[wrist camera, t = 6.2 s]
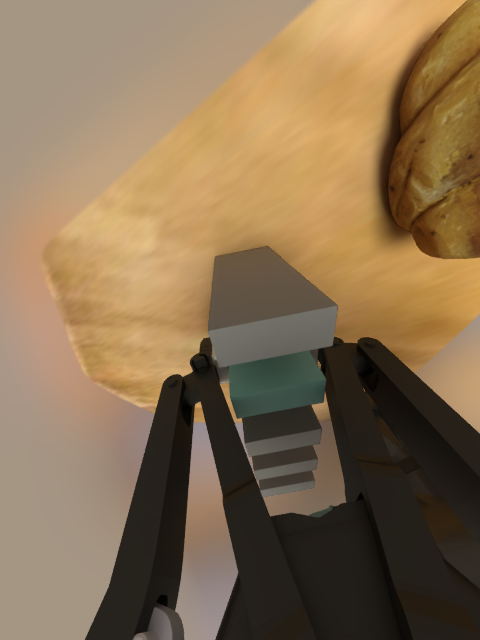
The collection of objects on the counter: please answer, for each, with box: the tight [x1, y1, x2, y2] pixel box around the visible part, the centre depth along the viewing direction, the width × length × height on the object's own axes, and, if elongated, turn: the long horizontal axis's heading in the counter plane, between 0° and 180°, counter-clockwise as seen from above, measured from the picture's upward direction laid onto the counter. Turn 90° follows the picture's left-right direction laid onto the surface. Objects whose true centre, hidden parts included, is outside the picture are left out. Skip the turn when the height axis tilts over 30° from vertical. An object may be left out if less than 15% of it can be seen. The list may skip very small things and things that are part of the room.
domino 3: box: [259, 470, 315, 497], centre depth 22 cm, size 2×5×12 cm, turn 100°
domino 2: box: [252, 445, 318, 480], centre depth 20 cm, size 2×5×12 cm, turn 100°
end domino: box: [208, 246, 338, 367], centre depth 13 cm, size 2×5×12 cm, turn 100°
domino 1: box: [242, 405, 322, 457], centre depth 17 cm, size 2×5×12 cm, turn 100°
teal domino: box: [229, 350, 326, 419], centre depth 15 cm, size 2×5×12 cm, turn 100°
